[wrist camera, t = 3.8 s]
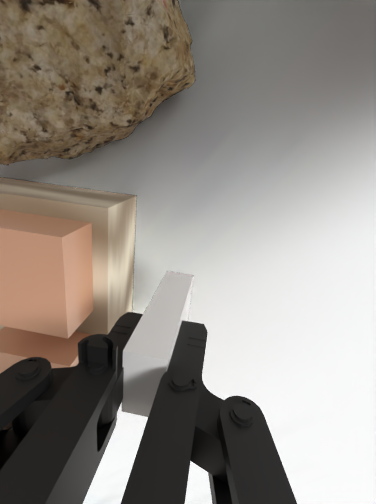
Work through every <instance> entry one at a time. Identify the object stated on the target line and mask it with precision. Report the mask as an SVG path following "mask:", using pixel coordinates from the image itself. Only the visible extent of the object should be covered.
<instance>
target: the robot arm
mask: <svg viewBox="0 0 376 504" xmlns="http://www.w3.org/2000/svg"><path fill="white" fill-rule="evenodd" d="M193 277H194V275H190V274H183V273H177V272H171V271H167V272H166V274H165V276H164V277H163V279H162V281H161V283H160V285H159V286H158V288H157V290H156V292H155V294H154V295H153V297H152V299H151V301H150V303H149V305H148V306H147V308H146V310H145V312H144V314H138V313H133V312H127V313H125V314H124V315H122V316H121V317H119V319H118V320H117V322H116V323H115V325H114V326H113V327H112V329H111V330H110V332H109V333H108V335H106V334H94V335H90V336H87V337H85V338H83V339H82V340H81V341H80V342H78V360H79V363H78V364H77V366H73V367H64V368H52V367H51V363H50V361H48V360H47V359H46V358H42V357H30V358H26V359H23V360H21V361H19V362H17V363H15V364H13V365H12V366H11V367H9V368H8V369H6V370H5V371H3V372H2V373H0V504H83V501H84V499H85V496H86V494H87V492H88V489H89V487H90V485H91V482H92V480H93V478H94V475H95V473H96V471H97V468H98V466H99V463H100V461H101V459H102V456H103V454H104V452H105V449H106V447H107V445H108V442H109V440H110V438H111V435H112V433H113V430H114V428H115V425H116V421H117V411H118V409H119V407H120V404H121V402H122V411H123V412H128V413H132V414H137V415H142V416H146V417H148V420H147V423H146V426H145V430H144V433H143V436H142V439H141V442H140V445H139V448H138V451H137V455H136V458H135V461H134V464H133V467H132V470H131V473H130V477H129V480H128V483H127V486H126V489H125V492H124V495H123V498H122V502H121V504H184V503H185V495H186V488H187V481H188V474H189V466H190V461H192V462H193V463H195V464H196V465H198V466H200V467H201V468H203V469H204V470H206V471H207V472H208V474H209V481H210V488H211V495H212V503H213V504H297V502H296V500H295V497H294V494H293V492H292V489H291V486H290V484H289V481H288V478H287V476H286V473H285V470H284V468H283V465H282V462H281V460H280V457H279V454H278V452H277V449H276V446H275V444H274V441H273V438H272V436H271V433H270V431H269V428H268V425H267V423H266V420H265V417H264V415H263V413H262V411H261V409H260V408H259V407H258V406H257V405H256V404H255V403H254V402H253V401H251V400H249V399H247V398H245V397H241V396H232V397H228V398H227V399H225V400H222V399H220V398H218V397H217V396H215V395H213V394H212V393H211V392H209V391H208V390H207V389H206V387H205V385H204V384H203V381H202V370H203V362H204V355H205V347H206V340H207V330H206V328H205V326H204V324H200V323H194V322H188V318H189V310H190V302H191V294H192V285H193Z"/></svg>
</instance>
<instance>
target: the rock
mask: <svg viewBox="0 0 376 504" xmlns="http://www.w3.org/2000/svg"><path fill="white" fill-rule="evenodd" d="M191 44H192V39H191V36H190V33H189V30H188V26H187V24H186V23H185V21H184V19H183V16H182V13H181V10H180V7H179V3H178V0H0V164H3V165H9V164H11V163H14V162H17V161H24V160H31V159H36V158H39V159H47V158H48V157H52V156H55V157H59V158H63V159H73V158H75V157H78V156H80V155H82V154H83V153H86V152H92V151H93V150H94V149H95V148H99V147H101V146H103V145H106V144H108V143H110V142H112V141H114V140H120V139H124V138H126V137H127V136H129V135H130V134H131V133H132V132H133V131H134V129H135V127H136V126H137V125H138V124H139V123H141V122H142V121H144V120H145V119H146V118H149V117H150V116H151V115H152V114H153V111H154V110H155V108H156V107H157V106H158V105H159V104H160V103H161V102H163V101H164V100H167V99H168V98H169V97H171V96H172V95H174V94H176V93H178V92H180V91H182V90H184V89H186V88H189V87H191V86H192V85H193V83H194V81H195V75H194V73H195V68H194V63H193V57H192V54H191V50H190V45H191Z"/></svg>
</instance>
